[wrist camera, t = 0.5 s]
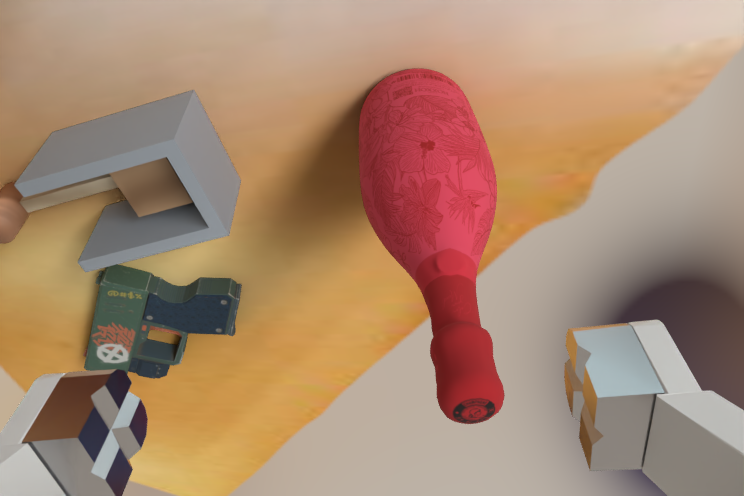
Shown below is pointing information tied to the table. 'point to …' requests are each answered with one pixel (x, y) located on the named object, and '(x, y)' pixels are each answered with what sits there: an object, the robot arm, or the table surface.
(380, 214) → the wine bottle
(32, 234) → the table surface
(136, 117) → the grey u-shaped bracket
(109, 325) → the gun
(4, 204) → the wooden mallet
